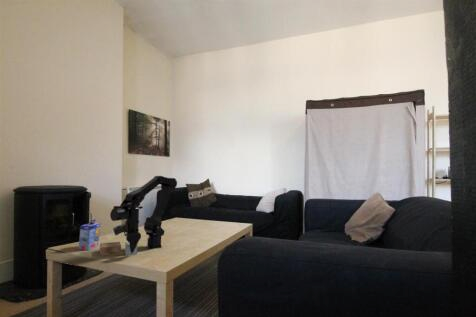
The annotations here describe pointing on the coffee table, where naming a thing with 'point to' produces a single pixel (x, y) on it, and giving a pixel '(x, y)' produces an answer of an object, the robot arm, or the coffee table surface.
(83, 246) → the ink cartridge box
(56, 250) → the coffee table surface
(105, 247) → the walnut block
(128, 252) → the slate cube
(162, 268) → the coffee table surface
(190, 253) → the coffee table surface
